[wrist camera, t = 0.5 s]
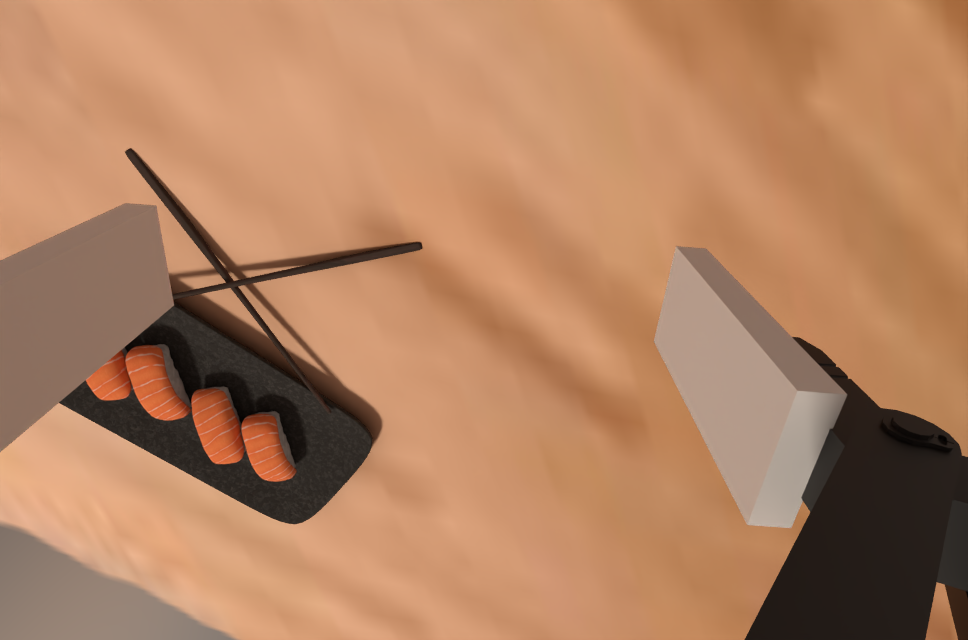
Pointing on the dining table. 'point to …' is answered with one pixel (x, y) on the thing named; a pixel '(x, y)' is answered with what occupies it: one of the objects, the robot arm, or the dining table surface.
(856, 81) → the dining table surface
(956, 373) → the dining table surface
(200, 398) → the sushi plate
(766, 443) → the robot arm
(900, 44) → the dining table surface
